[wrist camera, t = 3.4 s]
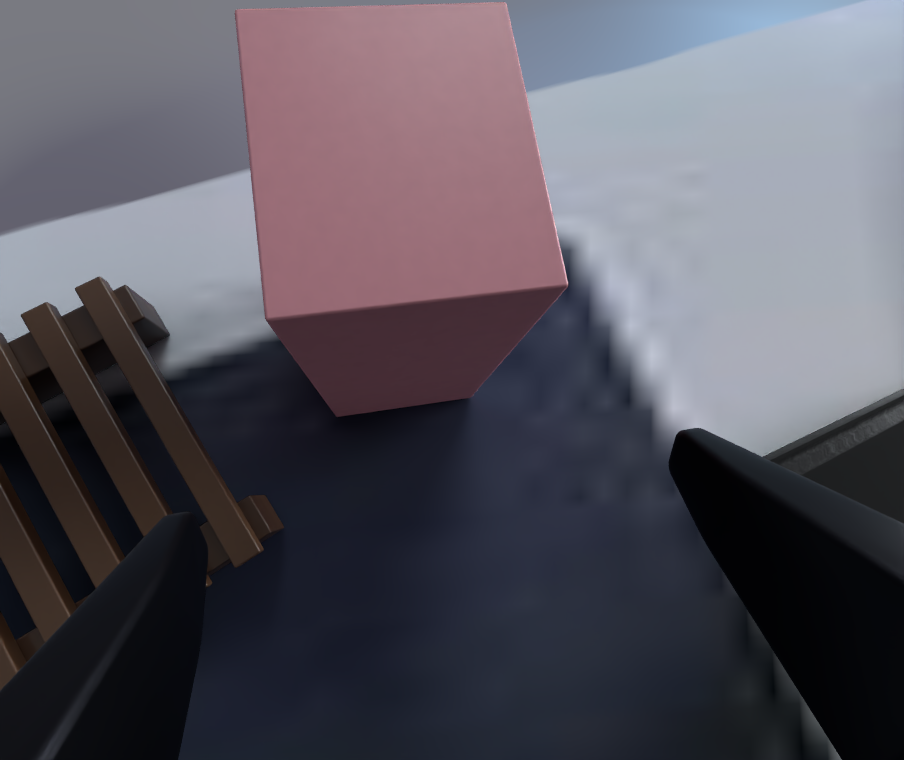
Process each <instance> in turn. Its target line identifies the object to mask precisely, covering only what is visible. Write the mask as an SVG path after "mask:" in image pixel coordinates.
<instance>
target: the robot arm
mask: <svg viewBox="0 0 904 760" xmlns="http://www.w3.org/2000/svg"><path fill="white" fill-rule="evenodd" d="M669 470H670V473H671V476H672V478H673V480H674V482H675V484H676V486H677V488H678V490H679V492H680V494H681V496H682V498H683V500H684V502H685V504H686V506H687V508H688V510H689V512H690V514H691V516H692V518H693V520H694V522H695V524H696V526H697V528H698V530H699V532H700V534H701V536H702V537H703V539H704V541H705V543H706V545H707V546H708V548H709V550H710V551H711V553H712V554H713V556H714V558H715V559H716V561H717V562H718V564H719V566H720V567H721V569H722V570H723V572H724V573H725V575H726V577H727V578H728V580H729V581H730V583H731V585H732V586H733V588H734V589H735V591H736V593H737V594H738V596H739V597H740V599H741V600H742V602H743V604H744V605H745V607H746V608H747V610H748V612H749V613H750V615H751V616H752V618H753V619H754V621H755V623H756V624H757V626H758V627H759V629H760V631H761V632H762V634H763V635H764V637H765V638H766V640H767V642H768V643H769V645H770V646H771V648H772V650H773V651H774V653H775V654H776V656H777V657H778V659H779V661H780V662H781V664H782V665H783V667H784V669H785V670H786V672H787V673H788V675H789V677H790V678H791V680H792V681H793V683H794V684H795V686H796V688H797V689H798V691H799V692H800V694H801V696H802V697H803V699H804V700H805V702H806V703H807V705H808V707H809V708H810V710H811V711H812V713H813V715H814V716H815V718H816V719H817V721H818V722H819V724H820V726H821V727H822V729H823V730H824V732H825V734H826V735H827V737H828V738H829V740H830V742H831V743H832V745H833V746H834V748H835V749H836V751H837V753H838V754H839V756H840V757H841V759H842V760H904V524H903V523H901V522H899V521H897V520H895V519H893V518H891V517H888V516H886V515H884V514H882V513H880V512H878V511H876V510H874V509H871V508H869V507H867V506H865V505H863V504H861V503H859V502H857V501H854V500H852V499H850V498H848V497H846V496H844V495H842V494H840V493H837V492H835V491H833V490H831V489H829V488H827V487H825V486H823V485H820V484H818V483H816V482H814V481H812V480H810V479H808V478H806V477H803V476H801V475H799V474H797V473H795V472H793V471H791V470H788V469H786V468H784V467H782V466H780V465H778V464H776V463H774V462H771V461H769V460H767V459H765V458H763V457H761V456H759V455H757V454H754V453H752V452H750V451H748V450H746V449H744V448H742V447H740V446H737V445H735V444H733V443H731V442H729V441H727V440H725V439H723V438H720V437H718V436H716V435H714V434H712V433H710V432H708V431H706V430H703V429H701V428H693V429H687V430H682V431H679V432H678V434H677V435H676V437H675V441H674V444H673V448H672V451H671V455H670V459H669ZM207 566H208V546H207V542H206V540H205V538H204V535H203V533H202V531H201V529H200V527H199V524H198V522H197V520H196V518H195V516H194V515H193V514H192V513H191V512H181V513H175V514H169V515H166V516H164V517H163V518H162V519H161V520H160V521H159V522H158V523H157V524H156V525H155V526H154V527H153V528H152V529H151V530H150V531H149V532H148V533H147V535H146V536H145V537H144V538H143V539H142V540H141V541H140V542H139V543H138V544H137V545H136V546H135V547H134V548H133V549H132V551H131V552H130V553H129V554H128V555H127V556H126V557H125V558H124V559H123V560H122V561H121V562H120V563H119V564H118V565H117V567H116V568H115V569H114V570H113V571H112V572H111V573H110V574H109V575H108V576H107V577H106V578H105V579H104V580H103V581H102V583H101V584H100V585H99V586H98V587H97V588H96V589H95V590H94V591H93V592H92V593H91V594H90V595H89V596H88V597H87V599H86V600H85V601H84V602H83V603H82V604H81V605H80V606H79V607H78V608H77V609H76V610H75V611H74V612H73V613H72V615H71V616H70V617H69V618H68V619H67V620H66V621H65V622H64V623H63V624H62V625H61V626H60V627H59V628H58V629H57V631H56V632H55V633H54V634H53V635H52V636H51V637H50V638H49V639H48V640H47V641H46V642H45V643H44V644H43V645H42V647H41V648H40V649H39V650H38V651H37V652H36V653H35V654H34V655H33V656H32V657H31V658H30V659H29V660H28V661H27V662H26V664H25V665H24V666H23V667H22V668H21V669H20V670H19V671H18V672H17V673H16V674H15V675H14V676H13V677H12V678H11V680H10V681H9V682H8V683H7V684H6V685H5V686H4V687H3V688H2V689H1V690H0V760H178V757H179V752H180V747H181V742H182V737H183V732H184V727H185V722H186V717H187V712H188V707H189V702H190V697H191V692H192V687H193V682H194V677H195V672H196V667H197V662H198V657H199V651H200V645H201V637H202V628H203V615H204V603H205V591H206V578H207Z"/></svg>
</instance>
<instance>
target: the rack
mask: <svg viewBox="0 0 904 760" xmlns="http://www.w3.org/2000/svg"><path fill="white" fill-rule="evenodd" d="M75 291H76V292H77V294H78V296H79V297H80V299H81V301H82V303H83V304H84V306H82V307H80V308H77V309H75V310H73V311H71V312H69V313H67V314H65V315H63V316H61V315H60V313H59V311H58V309H57V308H56V307H55V306H53V305H51V304H49V303H47V302H46V303H43V304H41V305H39V306H37V307H35V308H33V309H31V310H29V311H27V312H25V313H23V314H21V317H22V319H23V321H24V322H25V324H26V326H27V328H28V330H29V331H30V332H29V333H27V334H25V335H23V336H21V337H19V338H17V339H15V340H13V341H11V342H9V343H7V341H6V339H5V337H4V335H3V334H2V333H0V425H1V424H3V423H5V422H7V424H8V426H9V428H10V430H11V432H12V434H13V435H14V437H15V439H16V441H17V443H18V445H19V447H20V448H21V450H22V452H23V454H24V456H25V458H26V460H27V461H28V463H29V465H30V467H31V469H32V471H33V473H34V475H35V476H36V478H37V480H38V482H39V484H40V486H41V488H42V489H43V491H44V493H45V495H46V497H47V499H48V501H49V502H50V504H51V506H52V508H53V510H54V512H55V514H56V515H57V517H58V519H59V521H60V523H61V525H62V527H63V529H64V530H65V532H66V534H67V536H68V538H69V540H70V542H71V543H72V545H73V547H74V549H75V551H76V553H77V555H78V556H79V558H80V560H81V562H82V564H83V566H84V568H85V570H86V571H87V573H88V575H89V577H90V579H91V581H92V583H93V584H94V586H95V588H97V587H98V586H99V585H100V584H101V583H102V581H103V580H104V579H105V578H106V577H107V576H108V575H109V574H110V573H111V572H112V571H113V570H114V569H115V568H116V567H117V565H118V564H119V563H120V562H121V561H122V560H123V559H124V558H125V556H124V554H123V553H122V551H121V549H120V547H119V545H118V543H117V542H116V540H115V538H114V536H113V534H112V532H111V531H110V529H109V527H108V525H107V523H106V522H105V520H104V518H103V516H102V514H101V512H100V511H99V509H98V507H97V505H96V503H95V501H94V500H93V498H92V496H91V494H90V492H89V490H88V489H87V487H86V485H85V483H84V481H83V480H82V478H81V476H80V474H79V472H78V470H77V469H76V467H75V465H74V463H73V461H72V459H71V458H70V456H69V454H68V452H67V450H66V449H65V447H64V445H63V443H62V441H61V439H60V438H59V436H58V434H57V432H56V430H55V428H54V427H53V425H52V423H51V421H50V419H49V418H48V416H47V414H46V412H45V410H44V408H43V407H42V405H41V403H42V402H44V401H46V400H48V399H50V398H52V397H54V396H56V395H58V394H59V393H61V392H64V394H65V396H66V398H67V400H68V401H69V403H70V405H71V407H72V409H73V410H74V412H75V414H76V416H77V418H78V419H79V421H80V423H81V425H82V427H83V428H84V430H85V432H86V434H87V436H88V437H89V439H90V441H91V443H92V445H93V446H94V448H95V450H96V452H97V454H98V455H99V457H100V459H101V461H102V463H103V464H104V466H105V468H106V470H107V472H108V473H109V475H110V477H111V479H112V481H113V482H114V484H115V486H116V488H117V490H118V491H119V493H120V495H121V497H122V499H123V500H124V502H125V504H126V506H127V508H128V509H129V511H130V513H131V515H132V517H133V518H134V520H135V522H136V524H137V526H138V527H139V529H140V531H141V533H142V535H143V536H144V537H145V536H146V535H147V533H148V532H149V531H150V530H151V529H152V528H153V527H154V526H155V525H156V524H157V523H158V522H159V521H160V520H161V519H162V518H163V517H164V516H166V515H169V514H173V512H172V511H171V509H170V507H169V505H168V504H167V502H166V500H165V498H164V497H163V495H162V493H161V491H160V490H159V488H158V486H157V484H156V482H155V481H154V479H153V477H152V475H151V474H150V472H149V470H148V468H147V467H146V465H145V463H144V461H143V460H142V458H141V456H140V454H139V452H138V451H137V449H136V447H135V445H134V444H133V442H132V440H131V438H130V437H129V435H128V433H127V431H126V430H125V428H124V426H123V424H122V422H121V421H120V419H119V417H118V415H117V414H116V412H115V410H114V408H113V407H112V405H111V403H110V401H109V400H108V398H107V396H106V394H105V392H104V391H103V389H102V387H101V385H100V384H99V382H98V380H97V378H96V377H95V374H97V373H99V372H101V371H103V370H105V369H107V368H109V367H111V366H113V365H114V364H116V363H117V364H118V365H119V367H120V369H121V371H122V372H123V374H124V376H125V378H126V379H127V381H128V383H129V385H130V386H131V388H132V390H133V391H134V393H135V395H136V397H137V398H138V400H139V402H140V404H141V405H142V407H143V409H144V411H145V412H146V414H147V416H148V418H149V419H150V421H151V423H152V425H153V426H154V428H155V430H156V432H157V433H158V435H159V437H160V439H161V440H162V442H163V444H164V445H165V447H166V449H167V451H168V452H169V454H170V456H171V458H172V459H173V461H174V463H175V465H176V466H177V468H178V470H179V472H180V473H181V475H182V477H183V479H184V480H185V482H186V484H187V486H188V487H189V489H190V491H191V492H192V494H193V496H194V498H195V499H196V501H197V503H198V505H199V506H200V508H201V510H202V512H203V513H204V515H205V517H206V519H207V520H208V521H207V522H205V523H204V524H202V525H201V526H199V527H200V529H201V531H202V533H203V535H204V538H205V540H206V542H207V546H208V566H207V578H206V588H207V587H209V586H210V585H211V584H212V581H211V580H210V578H209V576H210V575H212V574H214V573H215V572H217V571H218V570H220V569H221V568H223V567H224V566H226V565H228V564H229V563H231V562H232V564H233V566H234V567H235V568H236V567H239V566H241V565H242V564H244V563H245V562H247V561H249V560H250V559H252V558H253V557H255V556H256V555H258V554H259V553H261V552H262V551H263V550H264V549H263V547H262V545H261V543H262V542H263V541H265V540H266V539H268V538H269V537H271V536H272V535H274V534H276V533H277V532H279V531H280V530H282V529H283V528H284V526H283V524H282V522H281V521H280V519H279V517H278V516H277V514H276V512H275V511H274V509H273V507H272V506H271V504H270V502H269V501H268V499H267V497H266V496H265V495H251V496H247V497H246V498H244V499H243V500H241V501H239V502H238V503H237V502H236V501H235V499H234V497H233V496H232V494H231V492H230V490H229V489H228V487H227V485H226V484H225V482H224V480H223V478H222V477H221V475H220V473H219V472H218V470H217V468H216V466H215V465H214V463H213V461H212V460H211V458H210V456H209V454H208V453H207V451H206V449H205V448H204V446H203V444H202V442H201V441H200V439H199V437H198V436H197V434H196V432H195V430H194V429H193V427H192V425H191V424H190V422H189V420H188V418H187V417H186V415H185V413H184V412H183V410H182V408H181V407H180V405H179V403H178V401H177V400H176V398H175V396H174V395H173V393H172V391H171V389H170V388H169V386H168V384H167V383H166V381H165V379H164V377H163V376H162V374H161V372H160V371H159V369H158V367H157V365H156V364H155V362H154V360H153V359H152V357H151V355H150V353H149V352H148V350H147V347H148V346H150V345H152V344H154V343H156V342H158V341H160V340H162V339H164V338H166V337H167V336H169V332H168V330H167V329H166V327H165V325H164V324H163V322H162V320H161V319H160V317H159V315H158V313H157V312H156V310H155V308H154V307H153V306H152V305H151V304H150V303H148V302H147V301H146V300H145V299H143V298H142V297H141V296H139V295H138V294H137V293H136V292H134V291H133V290H132V289H130V288H129V287H128V286H126V285H124V286H122V287H120V288H118V289H116V290H114V291H113V290H112V288H111V287H110V285H109V283H108V282H107V281H105V280H104V279H103V278H101V277H97V278H95V279H93V280H91V281H88V282H86V283H84V284H82V285H80V286H78V287H76V288H75ZM0 558H1V560H2V561H3V563H4V565H5V567H6V569H7V571H8V573H9V575H10V577H11V579H12V581H13V583H14V585H15V587H16V589H17V590H18V592H19V594H20V596H21V598H22V600H23V602H24V604H25V606H26V608H27V610H28V612H29V614H30V616H31V618H32V619H33V621H34V623H35V625H36V628H35V629H33V630H31V631H30V632H28V633H26V634H25V635H23V636H22V637H20V638H18V639H17V640H15V639H14V637H13V635H12V633H11V631H10V629H9V627H8V625H7V623H6V621H5V619H4V617H3V615H2V613H1V611H0V690H1V689H2V688H3V687H4V686H5V685H6V684H7V683H8V682H9V681H10V680H11V678H12V677H13V676H14V675H15V674H16V673H17V672H18V671H19V670H20V669H21V668H22V667H23V666H24V665H25V664H26V662H27V661H28V660H29V659H30V658H31V657H32V656H33V655H34V654H35V653H36V652H37V651H38V650H39V649H40V648H41V647H42V645H43V644H44V643H45V642H46V641H47V640H48V639H49V638H50V637H51V636H52V635H53V634H54V633H55V632H56V631H57V629H58V628H59V627H60V626H61V625H62V624H63V623H64V622H65V621H66V620H67V619H68V618H69V617H70V616H71V615H72V613H73V612H74V611H75V610H76V609H77V608H78V607H79V606H80V605H81V604H82V603H83V602H84V601H85V600H86V599H87V597H88V596H89V595H90V594H89V595H88V596H86V597H85V598H83V599H81V600H80V601H78V602H76V603H74V601H73V600H72V598H71V596H70V594H69V592H68V590H67V588H66V586H65V584H64V583H63V581H62V579H61V577H60V575H59V573H58V571H57V569H56V567H55V566H54V564H53V562H52V560H51V558H50V556H49V554H48V552H47V550H46V549H45V547H44V545H43V543H42V541H41V539H40V537H39V535H38V533H37V532H36V530H35V528H34V526H33V524H32V522H31V520H30V518H29V516H28V515H27V513H26V511H25V509H24V507H23V505H22V503H21V501H20V499H19V498H18V496H17V494H16V492H15V490H14V488H13V486H12V484H11V482H10V481H9V479H8V477H7V475H6V473H5V471H4V469H3V467H2V465H1V464H0Z"/></svg>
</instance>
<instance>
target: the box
mask: <svg viewBox="0 0 904 760" xmlns="http://www.w3.org/2000/svg"><path fill="white" fill-rule="evenodd" d="M235 20H236V30H237V40H238V50H239V60H240V70H241V80H242V90H243V100H244V109H245V110H244V111H245V121H246V130H247V140H248V150H249V160H250V171H251V181H252V191H253V201H254V211H255V221H256V231H257V241H258V251H259V261H260V271H261V281H262V291H263V301H264V311H265V319H266V321H267V322H268V324H269V325H270V327H271V328H272V329H273V331H274V332H275V333H276V335H277V336H278V338H279V339H280V340H281V342H282V343H283V344H284V346H285V347H286V348H287V350H288V351H289V353H290V354H291V355H292V357H293V358H294V359H295V361H296V362H297V364H298V365H299V366H300V368H301V369H302V370H303V372H304V373H305V374H306V376H307V377H308V379H309V380H310V381H311V383H312V384H313V385H314V387H315V388H316V390H317V391H318V392H319V394H320V395H321V396H322V398H323V399H324V400H325V402H326V403H327V405H328V406H329V407H330V409H331V410H332V411H333V413H334V414H335V416H336V417H340V416H347V415H354V414H361V413H368V412H375V411H382V410H389V409H396V408H403V407H410V406H416V405H423V404H430V403H437V402H444V401H451V400H458V399H465V398H470V397H471V396H472V395H473V394H474V393H475V392H476V391H477V389H478V388H479V387H480V386H481V385H482V384H483V383H484V382H485V380H486V379H487V378H488V377H489V376H490V375H491V374H492V372H493V371H494V370H495V369H496V368H497V367H498V366H499V364H500V363H501V362H502V361H503V360H504V359H505V358H506V356H507V355H508V354H509V353H510V352H511V351H512V350H513V348H514V347H515V346H516V345H517V344H518V343H519V342H520V340H521V339H522V338H523V337H524V336H525V335H526V334H527V333H528V331H529V330H530V329H531V328H532V327H533V326H534V325H535V323H536V322H537V321H538V320H539V319H540V318H541V317H542V315H543V314H544V313H545V312H546V311H547V310H548V309H549V307H550V306H551V305H552V304H553V303H554V302H555V301H556V299H557V298H558V297H559V296H560V295H561V294H562V293H563V291H564V290H565V289H566V288H567V287H568V281H567V276H566V272H565V267H564V263H563V258H562V254H561V249H560V244H559V240H558V235H557V231H556V226H555V222H554V217H553V213H552V208H551V204H550V199H549V195H548V190H547V185H546V181H545V176H544V172H543V167H542V163H541V158H540V154H539V149H538V145H537V140H536V136H535V131H534V127H533V122H532V117H531V113H530V108H529V104H528V99H527V95H526V91H525V86H524V81H523V77H522V73H521V68H520V63H519V59H518V54H517V49H516V45H515V40H514V36H513V32H512V27H511V22H510V18H509V13H508V9H507V4H506V3H504V2H496V3H495V2H494V3H459V4H419V5H384V6H383V5H381V6H346V7H345V6H344V7H310V8H309V7H308V8H307V7H306V8H272V9H271V8H269V9H237V10H235Z"/></svg>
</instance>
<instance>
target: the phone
mask: <svg viewBox="0 0 904 760" xmlns="http://www.w3.org/2000/svg"><path fill="white" fill-rule="evenodd" d="M763 458H765V459H767V460H769V461H771V462H774V463H776V464H778V465H780V466H782V467H784V468H786V469H788V470H791V471H793V472H795V473H797V474H799V475H801V476H803V477H806V478H808V479H810V480H812V481H814V482H816V483H818V484H820V485H823V486H825V487H827V488H829V489H831V490H833V491H835V492H837V493H840V494H842V495H844V496H846V497H848V498H850V499H852V500H854V501H857V502H859V503H861V504H863V505H865V506H867V507H869V508H871V509H874V510H876V511H878V512H880V513H882V514H884V515H886V516H888V517H891V518H893V519H895V520H897V521H899V522H901V523H903V524H904V389H902V390H900V391H898V392H896V393H894V394H892V395H890V396H888V397H886V398H883V399H881V400H879V401H877V402H875V403H873V404H871V405H869V406H867V407H865V408H863V409H861V410H859V411H857V412H855V413H852V414H850V415H848V416H846V417H844V418H842V419H840V420H838V421H836V422H834V423H832V424H830V425H828V426H826V427H824V428H822V429H819V430H817V431H815V432H813V433H811V434H809V435H807V436H805V437H803V438H801V439H799V440H797V441H795V442H793V443H791V444H788V445H786V446H784V447H782V448H780V449H778V450H776V451H774V452H772V453H770V454H768V455H766V456H764V457H763Z"/></svg>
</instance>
